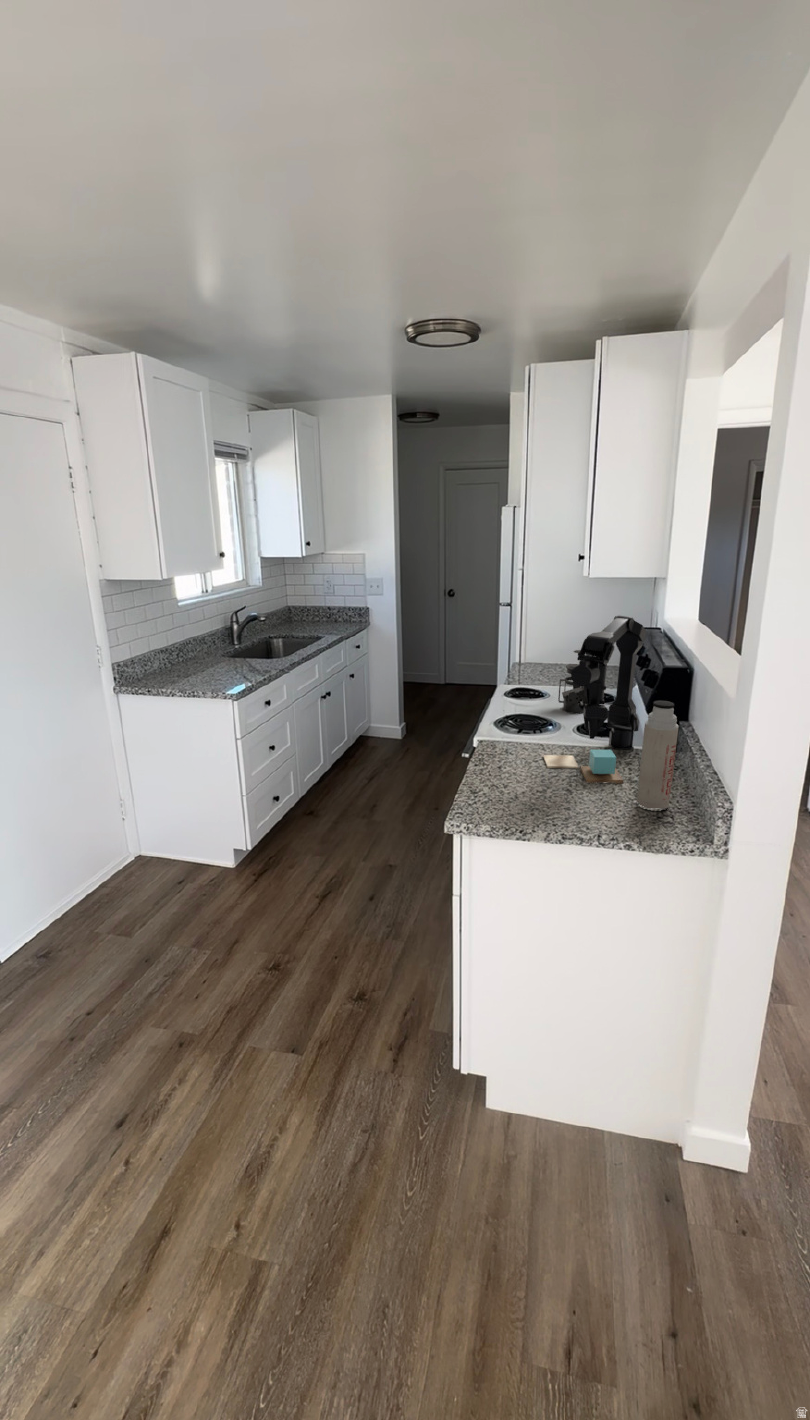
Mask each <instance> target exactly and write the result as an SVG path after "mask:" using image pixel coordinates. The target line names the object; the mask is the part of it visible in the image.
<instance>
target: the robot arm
mask: <svg viewBox="0 0 810 1420" xmlns="http://www.w3.org/2000/svg"><path fill="white" fill-rule="evenodd" d="M646 637H647V631H646V629H645V627H644V626H643V624H641V623H639V622H637V620H635V618H634V617H631V616H629V615H621V614H620V615H615V616H614V618H613V620H612V621H611V622H610V623H608V625H607V626H606V627H604V628H603V629H602V630H601V631H598V632H592V633H591V634H589V635H587V636H586V638H584V640H583V642H582V646H581V648H580V649H579V650H580V653H579V656H578V655H577V661H578V660H579V666H576V667H575V668H574V669H573V671H572V672H571V674H570V677H571V678H572V680H571V682H574V683H575V684H576V685H578V686H581V687H580V688H575V689H573V688H571V689H569V690H565V692H564V691H563V692H562V693H561V694H562V697H563V698H562V699H563V701H564V702H565V705H566V706H570V705H571V704H574V703H578V706H579V707H580V708H581V709H582V710H583V713H582V715H583V722H584V723H583V724H584V729H585V730H588V731H589V732H588V735H589V739H592V740H593V739H595V737H596V736H597V734H598V733H599V730H601V728H602V726H603V724H604V723H605V722H606V721H607V722H606V723H607V728H609V729H611V730H610V731H609V738H608V743H609V745H610V746H611V748H612V749H613V750H634V749H635V747H634V746H633V744H634V736H635V735H634V734H635V732H639V730H640V729H639V728H640V720H639V717H638V714H637V706H636V704H635V702H634V701H633V699H632V698H633V690H634V689H633V688H634V680H635V669H636V660H637V653H638V652H639V651H640V650H641V648H642V647H643V644H644V641H645V640H646ZM615 645H616V648H617V650H618V652H619V655H620V656H619V664H618V673H617V683H616V684H617V685H616V693H615V694H616V695H615V699H614V700H613V702H612V703H611V704H610V705H609V706H608V707H606V705H605V699H604V696H605V691H606V690H607V685H606V680H607V670H608V669H607V668H608V664H609V662H610V660H611V657H612V655H613V653H614V651H615ZM580 702H581V703H580Z"/></svg>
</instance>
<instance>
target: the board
mask: <svg viewBox="0 0 810 1420" xmlns="http://www.w3.org/2000/svg"><path fill="white" fill-rule="evenodd" d="M542 758H543V761H544V763H545V765H546V769H579V765H578V763H577V762H576V759H575V757H574V755H563V754H561V755H560V754H559V755H558V754H557V755H555V754H544V755H543V756H542Z"/></svg>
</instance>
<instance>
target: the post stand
mask: <svg viewBox="0 0 810 1420" xmlns="http://www.w3.org/2000/svg"><path fill="white" fill-rule="evenodd" d="M579 769H580V771H581V774H582V776H583V778H584V779H585V782H586V783H587V782H588V783H589V784H590V783H591V782H592V783H591V784H600V783H599V782H614V783H613V784H624V779H623V777H622V776H621V774H620V772H619V771H618V770H617V768H616V767H615V774H593V772H592V770H591V769H590V767H589V765H580V768H579ZM593 782H595V783H593ZM596 782H597V783H596ZM615 782H616V783H615Z"/></svg>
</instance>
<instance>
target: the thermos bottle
mask: <svg viewBox="0 0 810 1420" xmlns="http://www.w3.org/2000/svg"><path fill="white" fill-rule="evenodd" d="M652 703H653V704H652V705H653V708H652V711H651V712H650V713H648V716H647V718H648V719H647V720H646V721H645V722H644V726H643V727H644V728H643V737H642V744H641V745H642V747H641V757H640V765H639V766H640V767H639V775H638V783H637V792H636V793H637V794H636V801H637V802H638V803H639V804H640V805H642V806H644V807H647V808H666V807H668V806H669V807H670V799H671V790H672V783H673V774H674V767H675V759H676V750H677V743H678V735H679V727H680V726H679V725H678V724H677V722H678V719H677V718H678V717H677V716H676V714H674V711H675V709H674V707H675V703H674V702H671V701H668V700H655V701H653V702H652Z"/></svg>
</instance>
